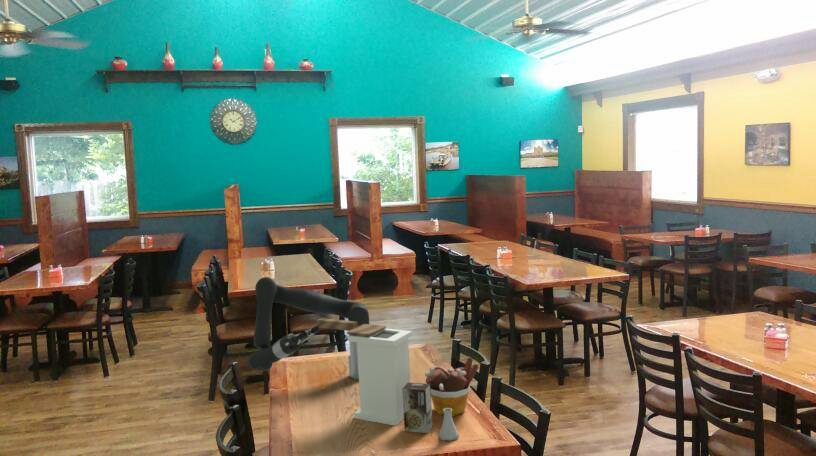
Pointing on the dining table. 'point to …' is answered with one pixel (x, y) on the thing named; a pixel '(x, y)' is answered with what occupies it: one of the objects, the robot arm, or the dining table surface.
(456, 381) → the bucket of meat
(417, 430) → the coffee box
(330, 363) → the dining table surface
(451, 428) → the flask
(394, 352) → the display stand
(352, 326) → the wooden cutting board
